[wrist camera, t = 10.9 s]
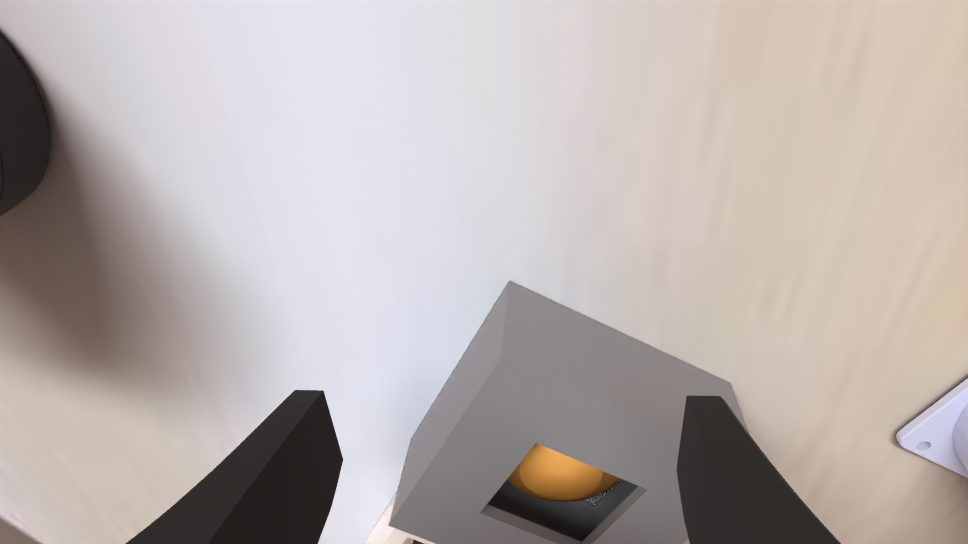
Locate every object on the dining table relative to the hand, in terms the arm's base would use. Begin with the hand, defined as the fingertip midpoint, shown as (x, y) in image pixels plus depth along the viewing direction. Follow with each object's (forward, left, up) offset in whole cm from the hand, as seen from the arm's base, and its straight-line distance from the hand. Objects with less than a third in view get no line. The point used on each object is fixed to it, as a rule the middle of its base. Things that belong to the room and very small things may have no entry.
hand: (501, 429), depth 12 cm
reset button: (-6, +8, -9) cm, 13 cm away
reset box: (-6, +8, -10) cm, 14 cm away
